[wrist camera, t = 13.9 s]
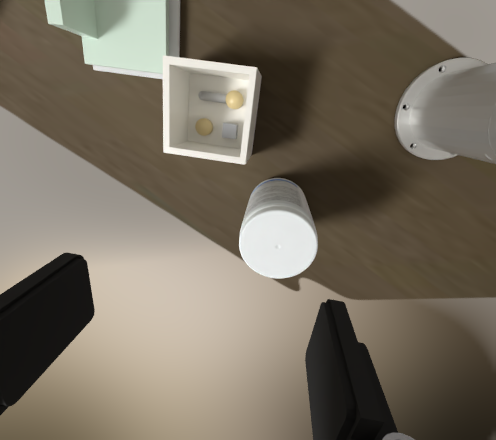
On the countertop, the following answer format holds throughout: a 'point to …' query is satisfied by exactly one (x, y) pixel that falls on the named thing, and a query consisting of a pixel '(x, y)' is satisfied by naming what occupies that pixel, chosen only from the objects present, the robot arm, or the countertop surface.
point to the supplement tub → (278, 230)
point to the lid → (117, 31)
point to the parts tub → (209, 109)
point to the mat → (173, 43)
